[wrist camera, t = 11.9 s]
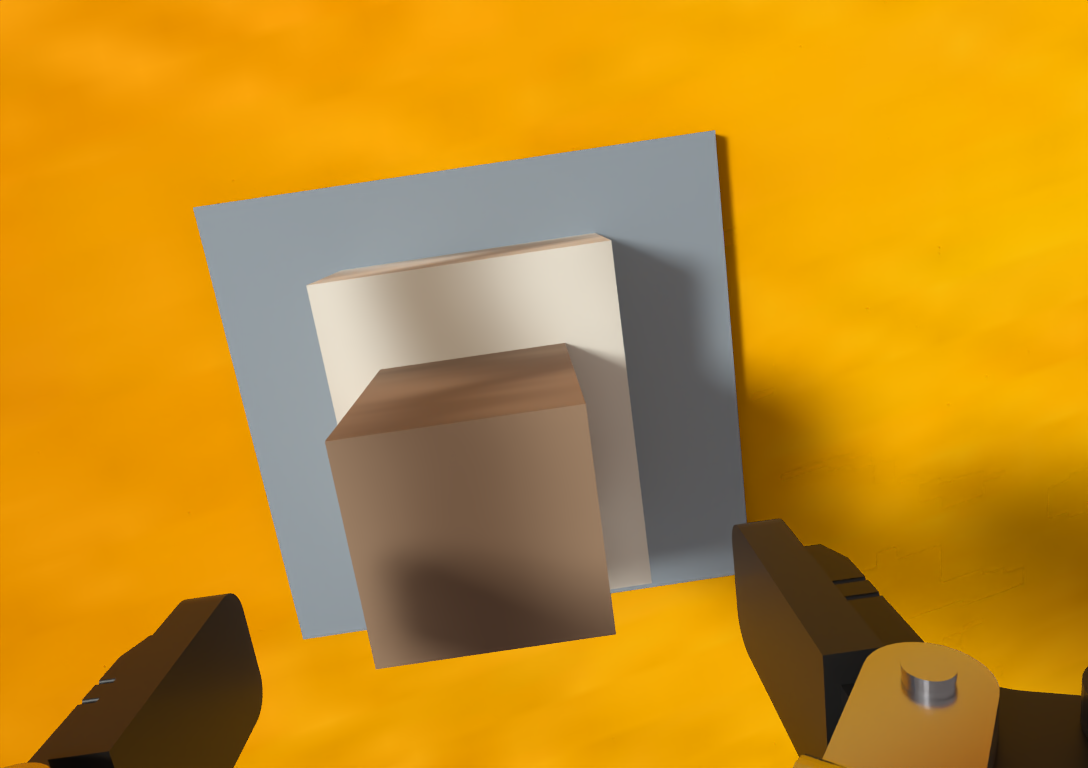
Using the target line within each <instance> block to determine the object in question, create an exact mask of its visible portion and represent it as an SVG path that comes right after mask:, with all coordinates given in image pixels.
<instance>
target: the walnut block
mask: <svg viewBox="0 0 1088 768" xmlns="http://www.w3.org/2000/svg"><path fill="white" fill-rule="evenodd" d="M325 445H326V449H327V454H328V458H329V463H330V467H331V472H332V476H333V481H334V485H335V489H336V494H337V498H338V503H339V507H340V512H341V516H342V520H343V525H344V529H345V534H346V538H347V543H348V547H349V552H350V556H351V560H352V565H353V569H354V574H355V578H356V583H357V587H358V591H359V596H360V600H361V605H362V609H363V614H364V618H365V623H366V627H367V631H368V636H369V640H370V645H371V649H372V654H373V658H374V663H375V667H376V669H381V668H387V667H394V666H401V665H408V664H415V663H422V662H429V661H435V660H442V659H449V658H456V657H463V656H470V655H477V654H483V653H490V652H497V651H504V650H511V649H518V648H524V647H531V646H538V645H545V644H552V643H559V642H566V641H572V640H579V639H586V638H593V637H600V636H607V635H614V634H616V632H615V624H614V616H613V609H612V601H611V593H610V586H609V578H608V570H607V562H606V555H605V547H604V539H603V532H602V524H601V516H600V509H599V501H598V493H597V486H596V478H595V470H594V463H593V455H592V447H591V439H590V432H589V424H588V416H587V409H586V403H585V400H584V397H583V394H582V391H581V388H580V385H579V382H578V379H577V377H576V374H575V371H574V368H573V365H572V362H571V359H570V356H569V353H568V350H567V347H566V345H565V343H560V344H553V345H546V346H539V347H532V348H525V349H518V350H512V351H505V352H498V353H491V354H484V355H477V356H470V357H463V358H456V359H449V360H442V361H435V362H428V363H422V364H415V365H408V366H401V367H394V368H387V369H380V370H379V372H378V373H377V374H376V375H375V377H374V378H373V379H372V381H371V382H370V383H369V385H368V386H367V387H366V388H365V390H364V391H363V392H362V394H361V395H360V396H359V398H358V399H357V400H356V401H355V403H354V404H353V405H352V407H351V408H350V409H349V411H348V412H347V413H346V414H345V416H344V417H343V418H342V420H341V421H340V422H339V424H338V425H337V426H336V427H335V429H334V430H333V431H332V433H331V434H330V435H329V437H328V438H327V439H326V440H325Z"/></svg>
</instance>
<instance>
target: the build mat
mask: <svg viewBox="0 0 1088 768" xmlns="http://www.w3.org/2000/svg"><path fill="white" fill-rule="evenodd" d="M193 209H194V213H195V217H196V221H197V225H198V229H199V233H200V236H201V240H202V244H203V248H204V252H205V256H206V260H207V264H208V268H209V272H210V276H211V280H212V283H213V287H214V291H215V295H216V299H217V303H218V307H219V311H220V315H221V319H222V323H223V326H224V330H225V334H226V338H227V342H228V346H229V350H230V354H231V358H232V362H233V366H234V369H235V373H236V377H237V381H238V385H239V389H240V393H241V397H242V401H243V405H244V409H245V412H246V416H247V420H248V424H249V428H250V432H251V436H252V440H253V444H254V448H255V452H256V456H257V459H258V463H259V467H260V471H261V475H262V479H263V483H264V487H265V491H266V495H267V499H268V502H269V506H270V510H271V514H272V518H273V522H274V526H275V530H276V534H277V538H278V542H279V545H280V549H281V553H282V557H283V561H284V565H285V569H286V573H287V577H288V581H289V585H290V589H291V592H292V596H293V600H294V604H295V608H296V612H297V616H298V620H299V624H300V628H301V632H302V635H303V639H308V638H315V637H322V636H328V635H335V634H342V633H348V632H355V631H362V630H367V627H366V623H365V618H364V614H363V609H362V605H361V600H360V596H359V591H358V587H357V583H356V578H355V574H354V569H353V565H352V560H351V556H350V552H349V547H348V543H347V538H346V534H345V529H344V525H343V520H342V516H341V512H340V507H339V503H338V498H337V494H336V489H335V485H334V481H333V476H332V472H331V467H330V463H329V458H328V454H327V449H326V445H325V440H326V439H327V438H328V437H329V435H330V434H331V433H332V431H333V430H334V429H335V427H336V426H337V421H336V416H335V412H334V407H333V403H332V398H331V394H330V389H329V385H328V380H327V376H326V371H325V367H324V363H323V358H322V354H321V349H320V345H319V340H318V336H317V331H316V327H315V322H314V318H313V313H312V309H311V305H310V300H309V296H308V291H307V287H306V285H309V284H311V283H313V282H316V281H318V280H320V279H322V278H325V277H327V276H329V275H332V274H334V273H336V272H339V271H341V270H347V269H354V268H361V267H368V266H374V265H381V264H388V263H394V262H401V261H408V260H415V259H421V258H428V257H435V256H442V255H448V254H455V253H462V252H469V251H475V250H482V249H489V248H496V247H502V246H509V245H516V244H522V243H529V242H536V241H543V240H549V239H556V238H563V237H570V236H576V235H583V234H590V233H597V234H599V235H601V236H603V237H605V238H607V239H610V240H611V243H612V251H613V260H614V268H615V276H616V285H617V293H618V302H619V310H620V319H621V327H622V335H623V344H624V352H625V361H626V369H627V378H628V386H629V394H630V403H631V411H632V420H633V428H634V437H635V445H636V453H637V462H638V470H639V479H640V487H641V496H642V504H643V512H644V521H645V529H646V538H647V546H648V555H649V563H650V571H651V580H652V583H651V584H644V585H638V586H631V587H624V588H617V589H611V590H610V593H616V592H622V591H629V590H636V589H642V588H649V587H656V586H662V585H669V584H676V583H683V582H689V581H696V580H703V579H709V578H716V577H723V576H729V575H735V572H734V559H733V547H732V529H733V526H734V525H736V524H743V523H747V520H746V507H745V495H744V483H743V470H742V458H741V446H740V433H739V421H738V409H737V396H736V384H735V372H734V359H733V347H732V335H731V322H730V310H729V298H728V285H727V273H726V261H725V248H724V236H723V224H722V211H721V199H720V186H719V174H718V162H717V149H716V137H715V130H714V131H707V132H700V133H694V134H687V135H680V136H673V137H667V138H660V139H653V140H646V141H640V142H633V143H626V144H619V145H613V146H606V147H599V148H592V149H586V150H579V151H572V152H565V153H559V154H552V155H545V156H538V157H532V158H525V159H518V160H511V161H505V162H498V163H491V164H484V165H478V166H471V167H464V168H457V169H451V170H444V171H437V172H430V173H424V174H417V175H410V176H403V177H397V178H390V179H383V180H376V181H370V182H363V183H356V184H349V185H343V186H336V187H329V188H322V189H316V190H309V191H302V192H295V193H289V194H282V195H275V196H268V197H262V198H255V199H248V200H241V201H235V202H228V203H221V204H214V205H208V206H201V207H194V208H193Z"/></svg>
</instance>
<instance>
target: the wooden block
mask: <svg viewBox="0 0 1088 768" xmlns="http://www.w3.org/2000/svg"><path fill="white" fill-rule="evenodd" d="M306 287H307V291H308V296H309V300H310V305H311V309H312V313H313V318H314V322H315V327H316V331H317V336H318V340H319V345H320V349H321V354H322V358H323V363H324V367H325V371H326V376H327V380H328V385H329V389H330V394H331V398H332V403H333V407H334V412H335V416H336V421H337V425H338V424H339V422H340V421H341V420H342V418H343V417H344V416H345V414H346V413H347V412H348V411H349V409H350V408H351V407H352V405H353V404H354V403H355V401H356V400H357V399H358V398H359V396H360V395H361V394H362V392H363V391H364V390H365V388H366V387H367V386H368V385H369V383H370V382H371V381H372V379H373V378H374V377H375V375H376V374H377V373H378V372H379V370H380V369H387V368H394V367H401V366H408V365H415V364H422V363H428V362H435V361H442V360H449V359H456V358H463V357H470V356H477V355H484V354H491V353H498V352H505V351H512V350H518V349H525V348H532V347H539V346H546V345H553V344H560V343H565V345H566V347H567V350H568V353H569V356H570V359H571V362H572V365H573V368H574V371H575V374H576V377H577V379H578V382H579V385H580V388H581V391H582V394H583V397H584V400H585V403H586V409H587V416H588V424H589V432H590V439H591V447H592V455H593V463H594V470H595V478H596V486H597V493H598V501H599V509H600V516H601V524H602V532H603V539H604V547H605V555H606V562H607V570H608V578H609V586H610V590H611V589H617V588H624V587H631V586H638V585H644V584H651V583H652V580H651V571H650V563H649V555H648V546H647V538H646V529H645V521H644V512H643V504H642V496H641V487H640V479H639V470H638V462H637V453H636V445H635V437H634V428H633V420H632V411H631V403H630V394H629V386H628V378H627V369H626V361H625V352H624V344H623V335H622V327H621V319H620V310H619V302H618V293H617V285H616V276H615V268H614V260H613V251H612V243H611V240H610V239H607V238H605V237H603V236H601V235H599V234H597V233H590V234H583V235H576V236H570V237H563V238H556V239H549V240H543V241H536V242H529V243H522V244H516V245H509V246H502V247H496V248H489V249H482V250H475V251H469V252H462V253H455V254H448V255H442V256H435V257H428V258H421V259H415V260H408V261H401V262H394V263H388V264H381V265H374V266H368V267H361V268H354V269H347V270H341V271H339V272H336V273H334V274H332V275H329V276H327V277H325V278H322V279H320V280H318V281H316V282H313V283H311V284H309V285H306Z"/></svg>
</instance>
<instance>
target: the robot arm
mask: <svg viewBox="0 0 1088 768" xmlns="http://www.w3.org/2000/svg"><path fill="white" fill-rule="evenodd" d="M732 547H733V559H734V572H735V584H736V597H737V609H738V618H739V624H740V629H741V633H742V637H743V641H744V644H745V647H746V650H747V652H748V655H749V657H750V659H751V661H752V663H753V665H754V667H755V669H756V671H757V673H758V675H759V677H760V679H761V681H762V683H763V685H764V687H765V689H766V691H767V693H768V695H769V697H770V699H771V701H772V703H773V705H774V707H775V709H776V711H777V713H778V715H779V717H780V719H781V721H782V723H783V725H784V727H785V729H786V731H787V733H788V735H789V737H790V739H791V741H792V743H793V745H794V747H795V750H796V752H797V754H798V756H799V758H798V760H797V761H796V763H795V765H794V767H793V768H1088V667H1087V668H1086V669H1085V671H1084V673H1083V676H1082V694H1081V696H1079V695H1067V694H1054V693H1042V692H1029V691H1020V690H1012V689H1007V688H1002V687H999V685H998V682H997V680H996V679H995V677H994V675H993V674H992V673H991V672H990V671H989V670H988V669H987V668H986V667H985V666H984V665H983V664H981V663H980V662H979V661H977V660H975V659H974V658H972V657H970V656H968V655H966V654H964V653H962V652H960V651H957V650H954V649H952V648H949V647H945V646H941V645H936V644H931V643H925V642H924V641H923V640H922V639H921V638H920V637H919V636H918V635H917V634H916V633H915V631H914V630H913V629H912V628H911V627H910V626H909V625H908V624H907V623H906V621H905V620H904V619H903V618H902V617H901V616H900V615H899V614H898V613H897V612H896V610H895V609H894V608H893V607H892V606H891V605H890V604H889V603H888V602H887V600H886V599H885V598H884V597H883V596H879V592H878V591H877V589H876V588H875V587H874V586H873V585H872V584H871V583H870V582H869V581H868V580H865V576H864V575H863V574H862V573H861V572H860V571H859V570H858V568H857V567H856V566H855V565H854V564H853V563H852V562H851V561H850V560H849V558H847V557H845V556H843V555H841V554H839V553H837V552H835V551H833V550H831V549H829V548H827V547H825V546H823V545H821V544H818V545H811V546H803V545H802V543H801V542H800V541H799V540H798V538H797V537H796V536H795V535H794V533H793V532H792V531H791V530H790V529H789V527H788V526H787V525H786V524H785V522H784V521H783V520H782V519H772V520H765V521H758V522H751V523H743V524H736V525H734V526H733V529H732ZM82 701H83V702H82V704H81V705H77V706H76V708H75V709H74V710H73V711H72V712H71V713H70V714H69V716H68V717H67V718H66V719H65V720H64V721H63V722H62V724H61V725H60V726H59V727H58V728H57V729H56V730H55V732H54V733H53V734H52V735H51V736H50V737H49V738H48V740H47V741H46V742H45V743H44V744H43V745H42V746H41V748H40V749H39V750H38V751H37V752H36V753H35V754H34V756H33V757H32V758H31V759H30V760H29V761H28V762H27V763H21V764H16V765H12V766H8V767H4V768H233V767H234V765H235V764H236V762H237V760H238V758H239V756H240V754H241V752H242V750H243V748H244V746H245V744H246V742H247V740H248V738H249V736H250V734H251V732H252V730H253V728H254V726H255V724H256V722H257V720H258V717H259V714H260V711H261V705H262V680H261V675H260V671H259V667H258V664H257V660H256V656H255V652H254V649H253V645H252V641H251V637H250V634H249V630H248V626H247V622H246V619H245V615H244V611H243V608H242V605H241V602H240V600H239V599H238V597H237V596H236V595H234V594H231V593H230V594H223V595H215V596H208V597H201V598H194V599H187V600H183V601H182V602H181V603H179V605H178V606H177V607H176V608H175V609H174V610H173V612H172V613H171V614H170V615H169V616H168V618H167V619H166V620H165V621H164V622H163V623H162V625H161V626H160V627H159V628H158V629H157V631H156V632H155V633H154V634H153V635H151V636H149V637H147V638H146V639H145V640H143V641H142V642H140V643H139V644H138V645H136V646H135V647H133V648H132V649H131V650H129V651H128V652H126V653H125V654H123V655H122V656H121V657H119V658H118V660H117V661H116V662H115V663H114V664H113V665H112V666H111V668H110V669H109V670H108V671H107V672H106V673H105V674H104V676H103V677H102V678H101V679H100V680H99V685H95V686H94V687H93V688H92V689H91V690H90V692H89V693H88V694H87V695H86V696H85V697H84V698H83V700H82Z"/></svg>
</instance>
